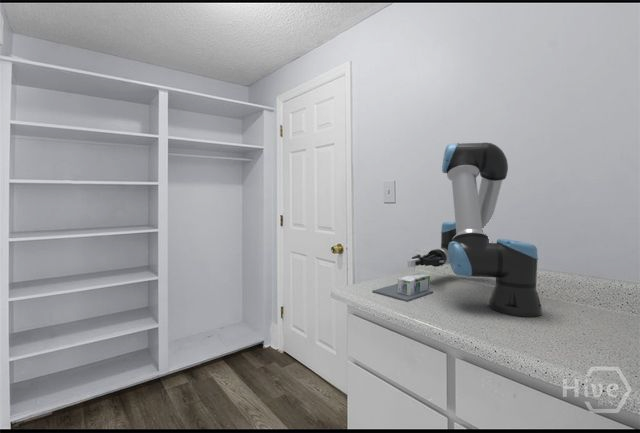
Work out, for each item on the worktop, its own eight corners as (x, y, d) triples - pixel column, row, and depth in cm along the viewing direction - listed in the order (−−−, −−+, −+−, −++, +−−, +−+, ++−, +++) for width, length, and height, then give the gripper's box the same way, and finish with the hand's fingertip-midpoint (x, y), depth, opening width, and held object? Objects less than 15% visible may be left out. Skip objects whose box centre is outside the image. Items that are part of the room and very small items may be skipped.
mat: (399, 284, 140) (399, 283, 139) (433, 292, 128) (433, 291, 127) (372, 292, 128) (372, 290, 128) (407, 301, 116) (407, 300, 116)
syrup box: (430, 289, 130) (410, 296, 120) (417, 286, 134) (396, 292, 125) (430, 275, 130) (410, 281, 120) (417, 273, 134) (397, 278, 125)
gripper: (452, 267, 141) (423, 275, 125) (425, 263, 150) (395, 270, 135) (453, 250, 140) (424, 256, 125) (425, 247, 150) (395, 252, 135)
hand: (409, 263), depth 130 cm, fingers closed
